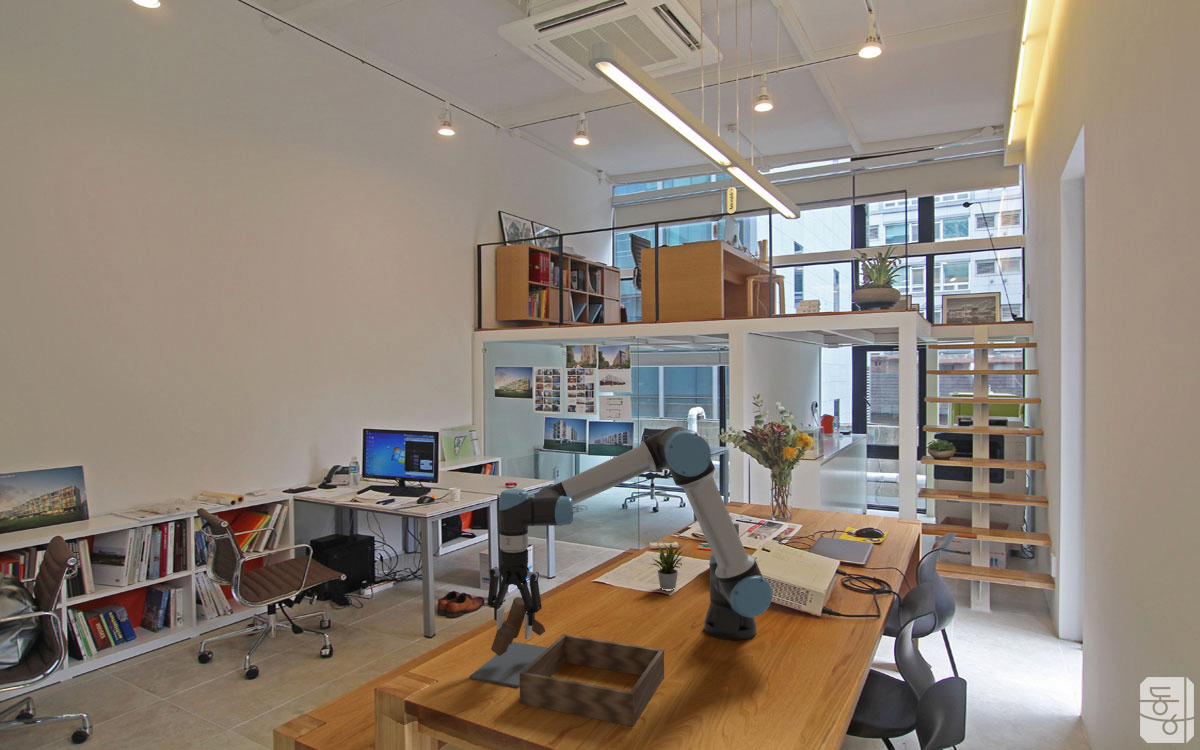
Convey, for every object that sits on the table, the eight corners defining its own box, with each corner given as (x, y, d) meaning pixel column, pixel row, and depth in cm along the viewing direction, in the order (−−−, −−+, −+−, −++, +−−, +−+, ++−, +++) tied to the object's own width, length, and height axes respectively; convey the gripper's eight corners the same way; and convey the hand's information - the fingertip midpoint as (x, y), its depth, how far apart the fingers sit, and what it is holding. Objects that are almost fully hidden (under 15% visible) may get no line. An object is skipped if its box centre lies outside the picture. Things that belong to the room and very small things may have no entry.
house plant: (698, 586, 232) (698, 541, 232) (681, 598, 220) (681, 550, 220) (662, 580, 240) (662, 535, 239) (644, 591, 228) (644, 544, 228)
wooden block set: (502, 666, 162) (514, 632, 160) (477, 646, 166) (488, 612, 163) (543, 636, 178) (555, 605, 175) (519, 619, 181) (530, 588, 179)
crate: (664, 677, 164) (663, 649, 164) (633, 726, 142) (632, 694, 142) (563, 660, 174) (563, 634, 174) (519, 703, 152) (519, 673, 152)
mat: (557, 651, 180) (557, 649, 180) (518, 687, 160) (518, 685, 160) (512, 643, 185) (512, 641, 185) (469, 678, 165) (469, 675, 165)
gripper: (472, 548, 173) (473, 634, 173) (542, 556, 165) (542, 646, 165) (487, 541, 180) (488, 624, 180) (555, 548, 172) (555, 635, 172)
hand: (514, 634), depth 172 cm, fingers closed on wooden block set, 8 cm apart
